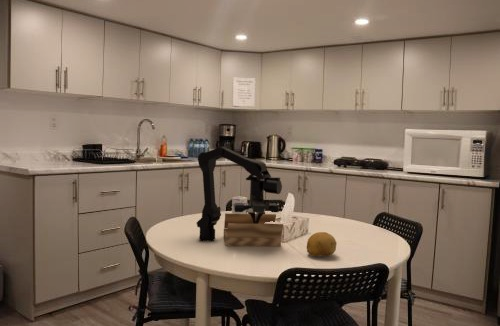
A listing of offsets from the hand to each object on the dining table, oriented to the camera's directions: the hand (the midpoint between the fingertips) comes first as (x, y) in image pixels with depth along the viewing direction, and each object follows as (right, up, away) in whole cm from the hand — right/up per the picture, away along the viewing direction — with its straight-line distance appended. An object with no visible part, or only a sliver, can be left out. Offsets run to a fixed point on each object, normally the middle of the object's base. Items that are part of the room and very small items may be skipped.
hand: (255, 227), depth 184 cm
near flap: (0, -1, 0) cm, 1 cm away
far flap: (-2, 0, +16) cm, 16 cm away
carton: (-2, -8, +11) cm, 13 cm away
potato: (+27, -11, -8) cm, 30 cm away
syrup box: (-8, -5, +43) cm, 44 cm away
